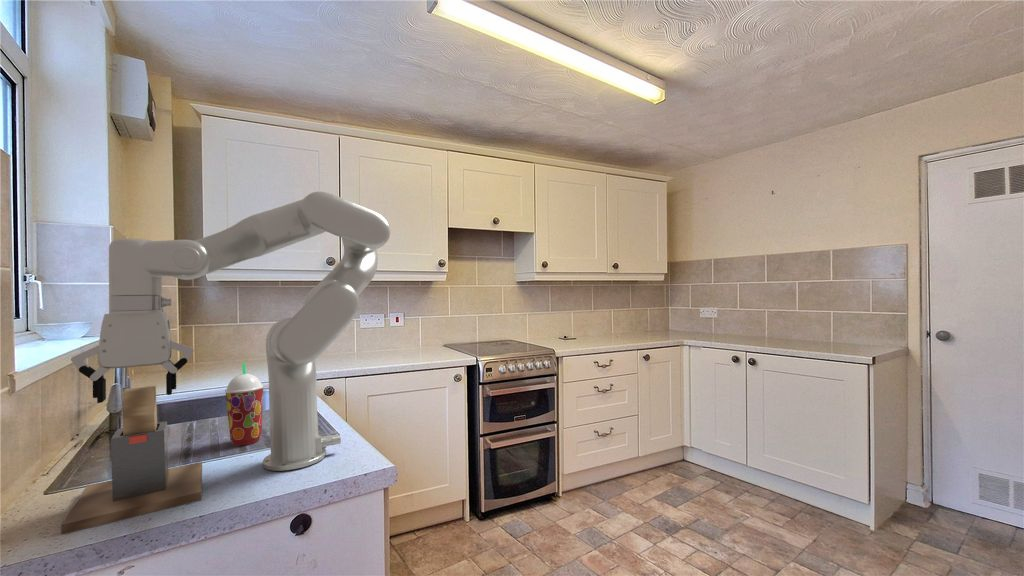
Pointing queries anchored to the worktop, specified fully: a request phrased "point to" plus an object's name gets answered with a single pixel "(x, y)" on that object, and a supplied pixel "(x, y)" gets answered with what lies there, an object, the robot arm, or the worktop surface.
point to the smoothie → (244, 408)
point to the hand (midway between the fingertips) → (136, 397)
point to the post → (139, 410)
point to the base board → (133, 500)
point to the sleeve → (139, 462)
